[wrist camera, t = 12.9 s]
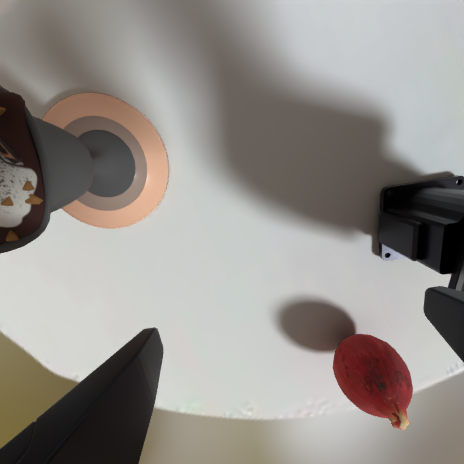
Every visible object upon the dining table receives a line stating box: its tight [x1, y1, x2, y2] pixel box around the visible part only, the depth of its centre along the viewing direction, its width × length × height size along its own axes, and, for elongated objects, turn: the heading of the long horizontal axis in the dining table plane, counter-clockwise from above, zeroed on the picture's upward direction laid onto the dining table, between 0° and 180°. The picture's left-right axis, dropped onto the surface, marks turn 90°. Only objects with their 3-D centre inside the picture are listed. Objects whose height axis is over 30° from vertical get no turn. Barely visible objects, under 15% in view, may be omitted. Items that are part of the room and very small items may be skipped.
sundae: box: [0, 86, 136, 253], centre depth 11 cm, size 7×7×15 cm
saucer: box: [42, 93, 169, 228], centre depth 18 cm, size 10×10×1 cm
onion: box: [333, 334, 413, 430], centre depth 20 cm, size 6×6×8 cm
